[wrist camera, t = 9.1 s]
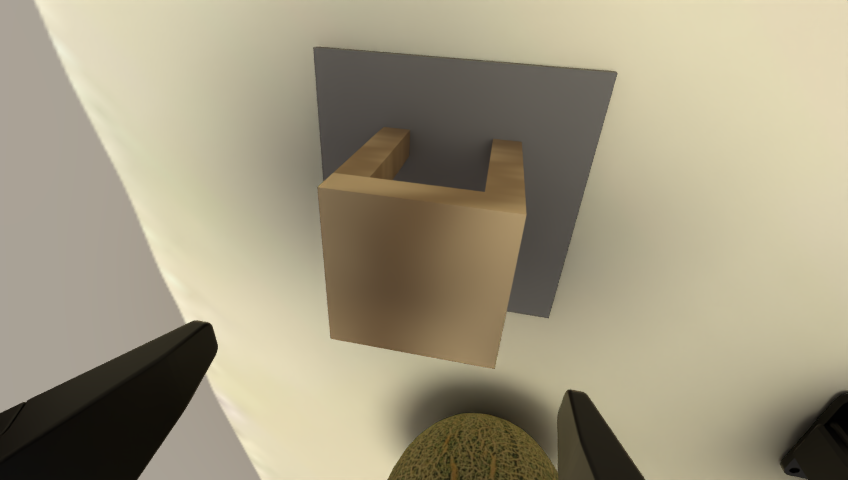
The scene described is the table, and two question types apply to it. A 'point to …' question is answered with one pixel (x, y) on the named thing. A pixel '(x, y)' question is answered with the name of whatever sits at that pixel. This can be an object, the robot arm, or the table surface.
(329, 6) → the table surface
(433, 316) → the stool
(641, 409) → the table surface
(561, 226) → the mat
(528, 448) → the fruit
